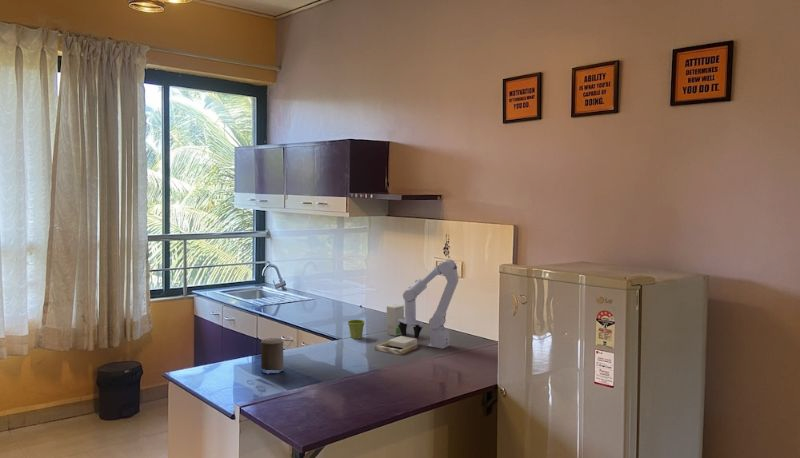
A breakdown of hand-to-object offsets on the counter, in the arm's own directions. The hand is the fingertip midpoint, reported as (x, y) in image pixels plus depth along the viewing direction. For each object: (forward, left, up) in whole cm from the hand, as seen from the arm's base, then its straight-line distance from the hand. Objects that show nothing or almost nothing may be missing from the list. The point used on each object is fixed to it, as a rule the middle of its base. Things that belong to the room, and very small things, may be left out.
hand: (410, 338), depth 304 cm
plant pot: (+31, +6, -3) cm, 32 cm away
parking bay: (0, +12, -2) cm, 12 cm away
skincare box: (+18, -12, -3) cm, 22 cm away
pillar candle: (+25, +71, -3) cm, 76 cm away
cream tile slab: (0, +7, -2) cm, 7 cm away
